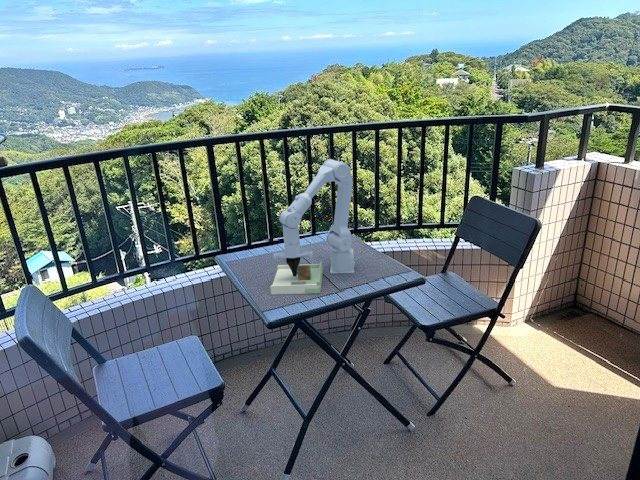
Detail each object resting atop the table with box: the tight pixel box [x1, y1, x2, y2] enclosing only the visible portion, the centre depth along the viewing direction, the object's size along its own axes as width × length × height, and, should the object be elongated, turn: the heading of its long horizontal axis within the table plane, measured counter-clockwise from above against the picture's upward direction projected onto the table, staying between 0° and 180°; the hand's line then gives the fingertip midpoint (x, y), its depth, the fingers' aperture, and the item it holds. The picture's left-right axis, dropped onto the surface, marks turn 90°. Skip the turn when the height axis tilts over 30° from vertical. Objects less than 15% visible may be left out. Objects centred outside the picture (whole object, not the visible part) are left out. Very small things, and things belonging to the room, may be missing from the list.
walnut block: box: [298, 265, 311, 281], centre depth 167 cm, size 4×4×4 cm
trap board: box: [269, 261, 324, 296], centre depth 168 cm, size 18×18×4 cm
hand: (295, 275), depth 167 cm, fingers closed
